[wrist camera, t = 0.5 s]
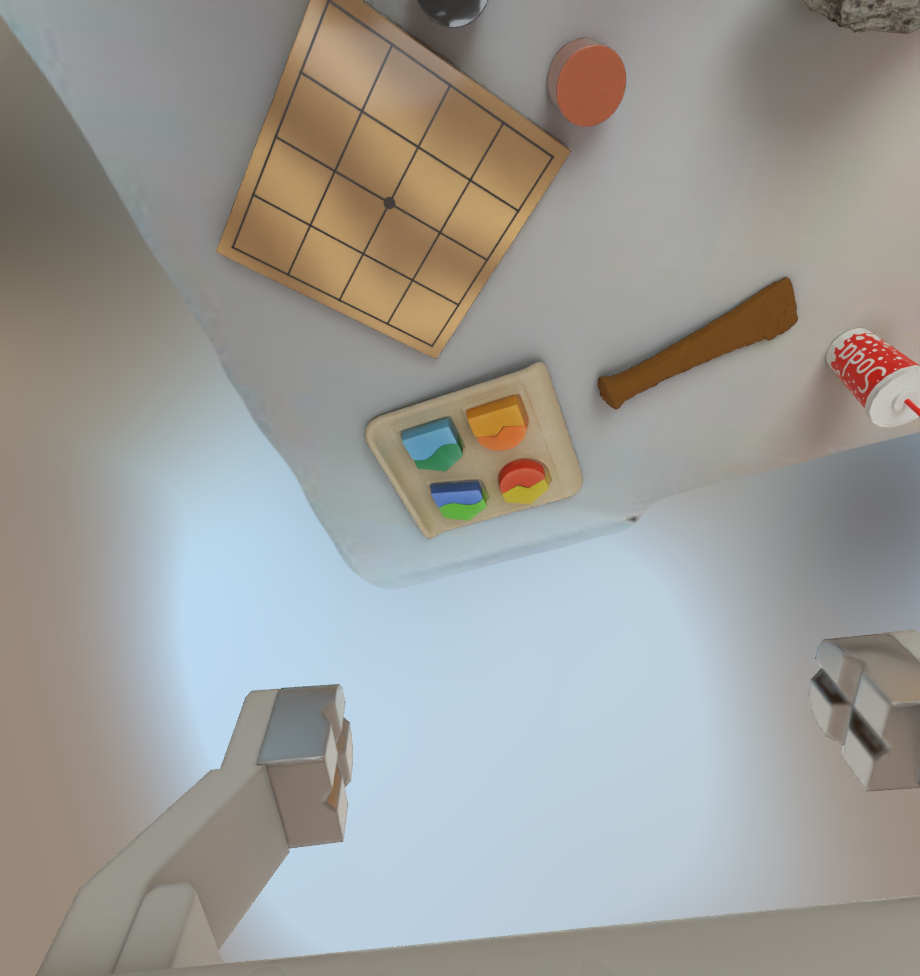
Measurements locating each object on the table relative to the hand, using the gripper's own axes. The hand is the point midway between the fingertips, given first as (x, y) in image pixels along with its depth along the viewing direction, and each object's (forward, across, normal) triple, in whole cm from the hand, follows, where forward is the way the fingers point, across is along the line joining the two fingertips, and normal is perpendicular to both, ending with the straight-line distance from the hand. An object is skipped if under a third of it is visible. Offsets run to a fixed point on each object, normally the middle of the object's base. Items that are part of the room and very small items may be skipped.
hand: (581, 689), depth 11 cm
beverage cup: (+53, -39, +10) cm, 67 cm away
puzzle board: (+54, -1, +18) cm, 57 cm away
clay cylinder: (+45, -10, -14) cm, 48 cm away
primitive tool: (+52, -22, +7) cm, 57 cm away
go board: (+47, +5, -7) cm, 47 cm away
